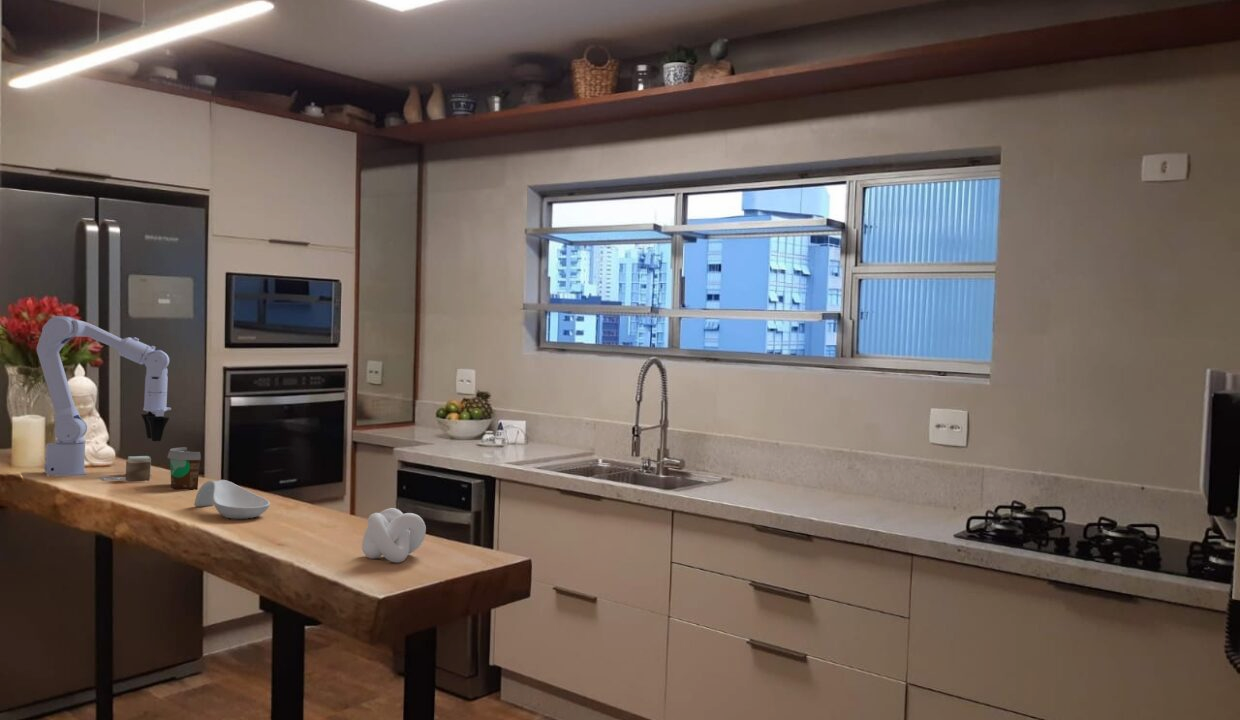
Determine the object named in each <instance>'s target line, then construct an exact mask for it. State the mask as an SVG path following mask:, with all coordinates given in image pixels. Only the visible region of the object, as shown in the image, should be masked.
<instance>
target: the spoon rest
mask: <svg viewBox="0 0 1240 720" xmlns="http://www.w3.org/2000/svg"><path fill="white" fill-rule="evenodd" d="M194 499H195V500H194V503H193V504H194V507H197V508H199V507H200V508H201V507H210V506H214V507H215V509H216V511H217V512H218V513H219V514H220V515H221V516H223V517H225V518H226V519H228V518H231V519H230V520H249V519H248V518H251V519H254V517H255V518H257V517H259V516H261V515H263V514H264V513H265V512H266V511H267V510H268V509H269V507H270V505H271V502H270V500H269V499H267V498H265V497H263V496H261V495H258V494H256V493H254V492H251V491H250V490H248V489H246V488H244V487H242V486H239V485H237V484H235V483H234V482H232V481H229V480H227V479H226V480H225V479H219V480H216V481H215V480H208V481H206V482H204V483H203V484H202V485H201V486H200V488H198V492H197V493H196V496H195V498H194Z"/></svg>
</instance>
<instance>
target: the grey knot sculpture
mask: <svg viewBox="0 0 1240 720" xmlns="http://www.w3.org/2000/svg"><path fill="white" fill-rule="evenodd" d="M425 523H426V522H425V521H424V519H423V518H422V517H421V516H420V515H418V514H416V513H412V512H406V513H404V512H403V511H401V510H400V509H399V508H394V507H389V508H386V509H385V508H384V510H381V511H380V512H374V513H372V514H370V515H369V516H368V518H367V528H366V529H365V532H364V534H363V537H362V543H361V549H362V553H364V556H365V557H367V558H368V559H371V560H373V559H379V558H381V557H382V556H383V557H384V558H385V559H386V560H388V561H389V562H391V563H395V564H398V563H399V564H401V563H402V562H404V561H405V560H406V559H407V558H408V556H409V555H410V554H412V553H414V552H415V551H416V550H417V549H418V548H420V547H421V545H422V543H424V541H425V537H426V533H427V532H426V531H427V527H426V524H425Z"/></svg>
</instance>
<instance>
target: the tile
mask: <svg viewBox="0 0 1240 720" xmlns="http://www.w3.org/2000/svg"><path fill="white" fill-rule="evenodd" d="M124 479H126V476H111V477H106V476H105V477H104V476H103V477H99V480H100V481H101V482H108V481H109V482H110V481H123V480H124Z"/></svg>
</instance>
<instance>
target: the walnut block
mask: <svg viewBox="0 0 1240 720" xmlns="http://www.w3.org/2000/svg"><path fill="white" fill-rule="evenodd" d="M125 474H126V475H125V478H126V480H127V481H129V482H131V481H150V479H151V478H150V477H151V476H150V475H151V470H150V462H149V461H148V460H131V461H128V460H126V462H125Z"/></svg>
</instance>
